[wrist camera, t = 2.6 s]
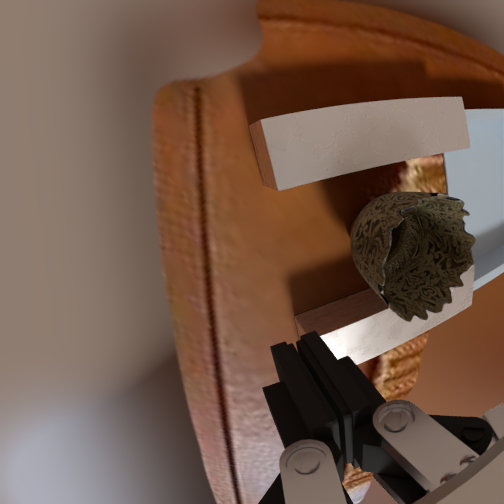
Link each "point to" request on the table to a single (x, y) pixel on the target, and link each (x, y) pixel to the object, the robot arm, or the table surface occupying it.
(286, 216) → the table surface
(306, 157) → the groove rails
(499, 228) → the tray
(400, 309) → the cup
